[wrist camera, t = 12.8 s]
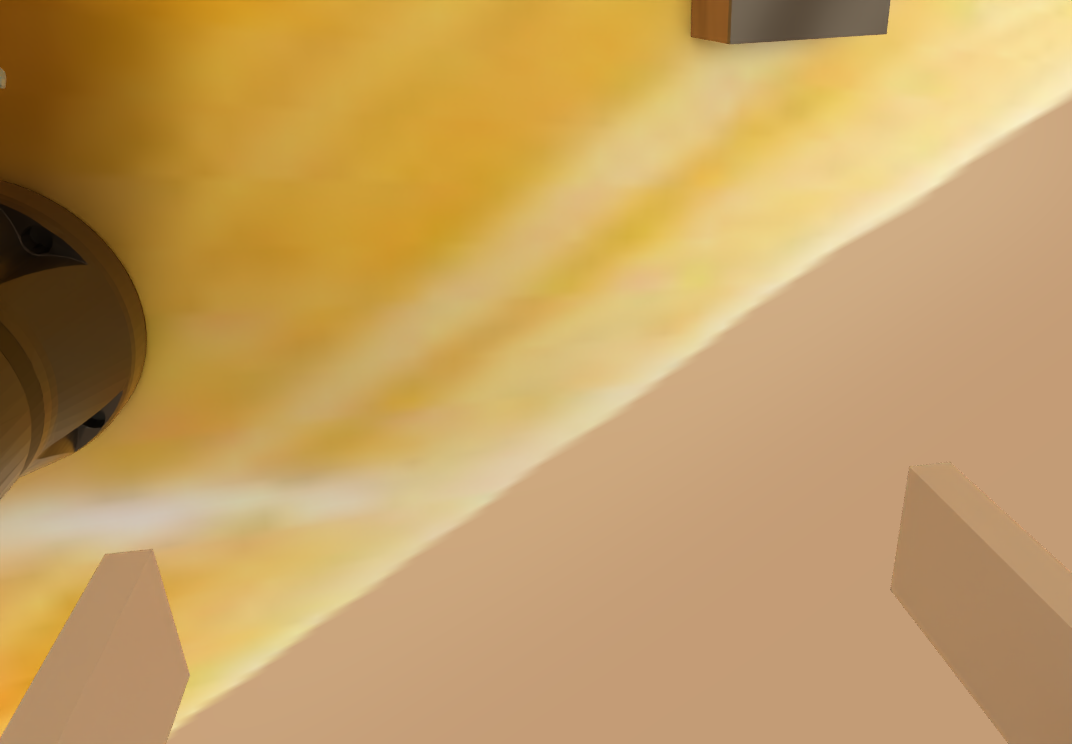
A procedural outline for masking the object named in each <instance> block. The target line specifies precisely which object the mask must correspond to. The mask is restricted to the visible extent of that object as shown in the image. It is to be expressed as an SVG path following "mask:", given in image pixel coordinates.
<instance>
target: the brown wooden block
mask: <svg viewBox="0 0 1072 744" xmlns="http://www.w3.org/2000/svg"><path fill="white" fill-rule="evenodd" d="M889 7H890V0H692V17H691V37H695V38H700V39H705V40H711V41H716V42H721V43H726V44H741V43H756V42H772V41H787V40H802V39H818V38H833V37H849V36H864V35H879V34H887V25H888V16H889Z"/></svg>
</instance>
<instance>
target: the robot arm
mask: <svg viewBox="0 0 1072 744" xmlns="http://www.w3.org/2000/svg"><path fill="white" fill-rule="evenodd" d="M5 86H6V74H5V72H4V70H3V69H2V68H1V67H0V88H5ZM145 353H146V328H145V321H144V316H143V311H142V307H141V304H140V301H139V298H138V295H137V293H136V290H135V288H134V286H133V284H132V282H131V279H130V278H129V276H128V274H127V272H126V271H125V269H124V267H123V266H122V264H121V263H120V261H119V260H118V258H117V257H116V256H115V254H114V253H113V252H112V251H111V249H110V248H109V247H108V246H107V245H106V244H105V242H104V241H103V240H102V239H101V238H100V237H99V236H98V235H97V234H96V233H95V232H94V231H93V230H92V229H90V228H89V227H88V226H87V225H86V224H85V223H84V222H82V221H81V220H80V219H79V218H77V217H76V216H75V215H73V214H72V213H70V212H69V211H67V210H66V209H65V208H63V207H61V206H60V205H58V204H56V203H55V202H53V201H51V200H49V199H47V198H45V197H44V196H42V195H40V194H37V193H35V192H33V191H31V190H28V189H26V188H23V187H20V186H18V185H15V184H12V183H8V182H5V181H1V180H0V500H1V499H2V498H3V496H4V495H5V494H6V493H7V491H8V490H9V489H10V488H11V486H12V485H13V484H14V483H15V481H16V480H17V479H18V478H19V477H21V476H24V475H26V474H28V473H30V472H33V471H35V470H37V469H40V468H42V467H44V466H46V465H49V464H51V463H53V462H56V461H58V460H60V459H62V458H65V457H67V456H69V455H71V454H73V453H75V452H77V451H78V450H80V449H81V448H83V447H84V446H86V445H87V444H89V443H90V442H91V441H93V440H94V439H95V438H96V437H97V436H99V435H100V434H101V433H102V432H103V431H104V430H105V429H106V428H107V427H108V426H109V425H110V424H111V422H112V421H113V420H114V419H115V417H116V416H117V415H118V413H119V412H120V411H121V409H122V408H123V406H124V405H125V404H126V402H127V401H128V399H129V398H130V396H131V395H132V393H133V391H134V389H135V387H136V385H137V383H138V381H139V378H140V375H141V372H142V369H143V365H144V360H145ZM891 591H892V593H893V594H894V595H895V597H896V598H897V599H898V600H899V602H900V603H901V604H902V606H903V607H904V608H905V610H906V611H907V612H908V613H909V615H910V616H911V617H912V619H913V620H914V621H915V623H917V625H918V626H919V628H920V629H921V630H922V632H923V633H924V634H925V636H926V637H927V638H928V639H929V641H930V642H931V643H932V645H933V646H934V647H935V649H936V650H937V651H938V653H939V654H940V655H941V656H942V658H943V659H944V660H945V662H946V663H947V664H948V666H949V667H950V668H951V670H952V671H953V672H954V673H955V675H956V676H957V677H958V679H959V680H960V681H961V682H962V684H963V685H964V686H965V688H966V689H967V690H968V692H969V693H970V694H971V696H972V697H973V698H974V699H975V701H976V702H977V703H978V705H979V706H980V707H981V709H982V710H983V711H984V713H985V714H986V715H987V716H988V718H989V719H990V720H991V722H992V723H993V724H994V726H995V727H996V728H997V729H998V731H999V732H1000V733H1001V735H1002V736H1003V737H1004V739H1005V740H1006V741H1007V743H1008V744H1072V573H1071V571H1069V570H1068V569H1067V568H1066V567H1065V566H1064V565H1063V564H1062V563H1061V562H1060V561H1058V560H1057V559H1056V558H1055V557H1054V556H1053V555H1052V554H1051V553H1050V552H1048V551H1047V550H1046V549H1045V548H1044V547H1043V546H1042V545H1041V544H1040V543H1039V542H1037V541H1036V540H1035V539H1034V538H1033V537H1032V536H1031V535H1030V534H1029V533H1028V532H1026V531H1025V530H1024V529H1023V528H1022V527H1021V526H1020V525H1019V524H1018V523H1017V522H1016V521H1014V520H1013V519H1012V518H1011V517H1010V516H1009V515H1008V514H1007V513H1005V512H1004V511H1003V510H1002V509H1001V508H1000V507H999V506H998V505H997V504H996V503H995V502H994V501H992V500H991V499H990V498H989V497H988V496H987V495H986V494H985V493H984V492H983V491H981V490H980V489H979V488H978V487H977V486H976V485H975V484H974V483H973V482H972V481H970V480H969V479H968V478H967V477H966V476H965V475H964V474H963V473H962V472H960V471H959V470H958V469H957V468H956V467H955V466H954V465H953V464H952V463H951V462H945V463H936V464H926V465H917V466H909V471H908V478H907V484H906V491H905V497H904V504H903V511H902V517H901V524H900V530H899V537H898V544H897V551H896V556H895V563H894V570H893V576H892V583H891ZM189 676H190V674H189V671H188V667H187V664H186V661H185V657H184V654H183V650H182V647H181V644H180V640H179V637H178V633H177V630H176V627H175V623H174V620H173V616H172V613H171V610H170V606H169V603H168V599H167V596H166V593H165V589H164V586H163V582H162V579H161V575H160V572H159V569H158V565H157V562H156V558H155V555H154V552H153V549H149V550H140V551H131V552H122V553H113V554H105V555H104V557H103V559H102V560H101V562H100V564H99V566H98V567H97V569H96V571H95V573H94V574H93V576H92V578H91V580H90V581H89V583H88V585H87V587H86V588H85V590H84V592H83V594H82V596H81V597H80V599H79V601H78V603H77V604H76V606H75V608H74V610H73V611H72V613H71V615H70V617H69V618H68V620H67V622H66V624H65V625H64V627H63V629H62V631H61V632H60V634H59V636H58V638H57V639H56V641H55V643H54V645H53V646H52V648H51V650H50V652H49V653H48V655H47V657H46V659H45V660H44V662H43V664H42V666H41V667H40V669H39V671H38V673H37V674H36V676H35V678H34V680H33V681H32V683H31V685H30V687H29V688H28V690H27V692H26V694H25V695H24V697H23V699H22V701H21V703H20V704H19V706H18V708H17V710H16V711H15V713H14V715H13V717H12V718H11V720H10V722H9V724H8V725H7V727H6V729H5V731H4V732H3V734H2V736H1V738H0V744H166V742H167V739H168V736H169V734H170V731H171V728H172V725H173V722H174V719H175V716H176V713H177V711H178V708H179V705H180V702H181V699H182V696H183V693H184V690H185V687H186V685H187V682H188V679H189Z"/></svg>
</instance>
